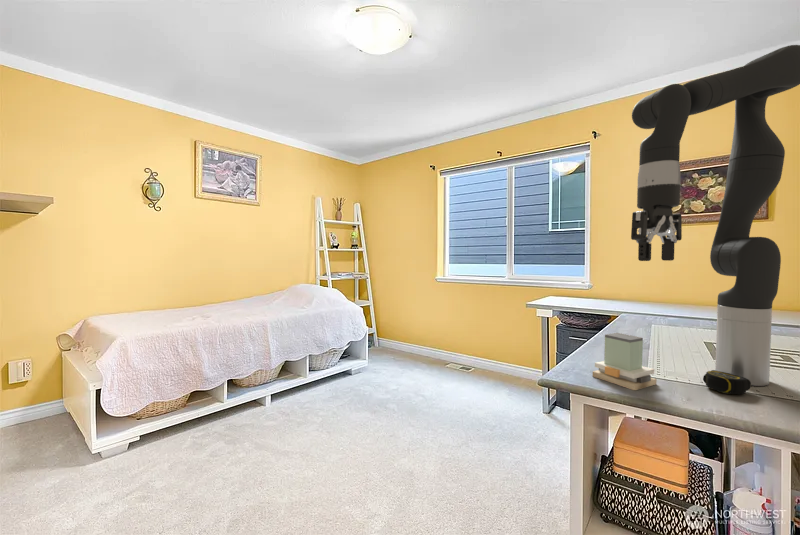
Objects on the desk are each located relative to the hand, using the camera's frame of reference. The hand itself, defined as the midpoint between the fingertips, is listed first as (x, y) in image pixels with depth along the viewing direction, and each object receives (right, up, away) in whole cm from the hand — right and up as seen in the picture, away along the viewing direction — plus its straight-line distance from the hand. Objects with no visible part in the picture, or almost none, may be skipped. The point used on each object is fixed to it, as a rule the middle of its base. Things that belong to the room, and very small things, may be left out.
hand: (656, 260), depth 78 cm
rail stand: (-3, -28, +6) cm, 29 cm away
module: (-4, -25, +6) cm, 25 cm away
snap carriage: (-4, -27, +6) cm, 27 cm away
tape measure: (+15, -28, 0) cm, 32 cm away
